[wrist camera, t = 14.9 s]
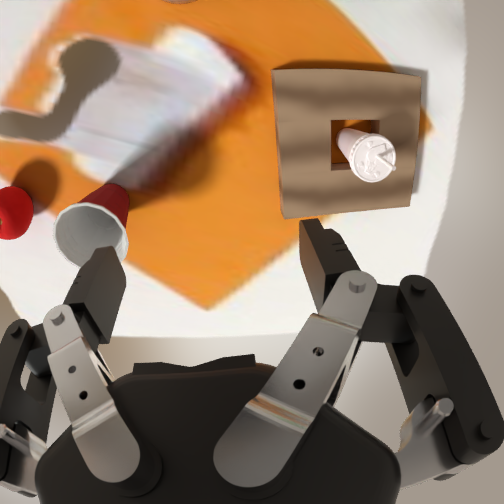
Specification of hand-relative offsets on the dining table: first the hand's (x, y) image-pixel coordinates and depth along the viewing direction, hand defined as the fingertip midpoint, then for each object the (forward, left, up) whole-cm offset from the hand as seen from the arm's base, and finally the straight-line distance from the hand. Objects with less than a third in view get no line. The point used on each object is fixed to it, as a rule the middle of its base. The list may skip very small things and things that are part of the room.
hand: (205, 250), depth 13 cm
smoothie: (+5, +19, -32) cm, 38 cm away
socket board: (+5, +19, -32) cm, 38 cm away
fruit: (+6, -37, -32) cm, 49 cm away
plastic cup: (+10, -18, -32) cm, 38 cm away
